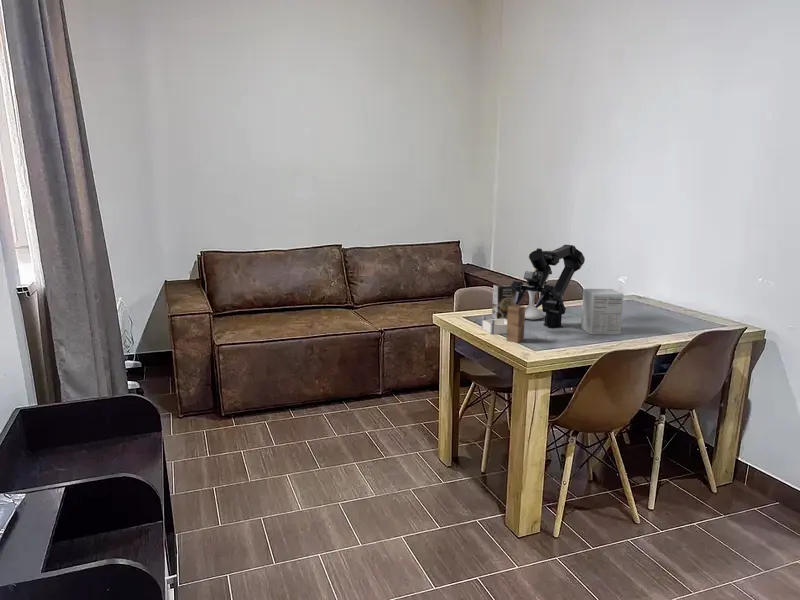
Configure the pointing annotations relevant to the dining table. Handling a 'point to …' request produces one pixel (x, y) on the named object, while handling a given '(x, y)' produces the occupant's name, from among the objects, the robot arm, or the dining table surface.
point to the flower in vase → (533, 306)
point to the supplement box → (602, 311)
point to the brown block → (515, 323)
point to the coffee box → (502, 300)
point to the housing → (494, 325)
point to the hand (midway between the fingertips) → (525, 305)
